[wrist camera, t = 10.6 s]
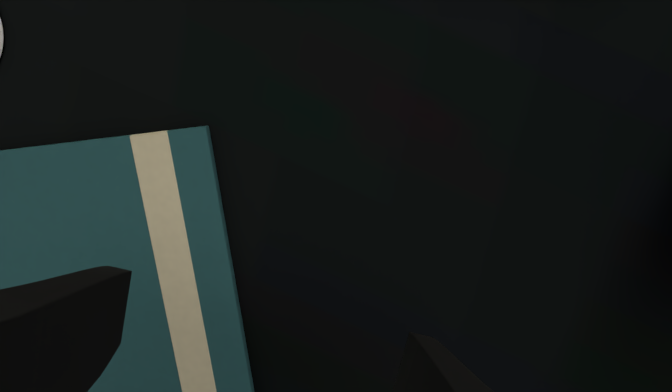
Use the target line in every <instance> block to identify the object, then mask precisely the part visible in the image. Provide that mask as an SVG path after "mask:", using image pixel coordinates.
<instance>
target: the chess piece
mask: <svg viewBox="0 0 672 392" xmlns="http://www.w3.org/2000/svg"><path fill="white" fill-rule="evenodd" d="M3 40H4V36H3V26H2V21H1V18H0V57H1V54H2V49H3Z"/></svg>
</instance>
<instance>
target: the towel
mask: <svg viewBox="0 0 672 392" xmlns="http://www.w3.org/2000/svg"><path fill="white" fill-rule="evenodd" d="M100 266H112V267H117V268H121V269H126V270H130V271H132V275H131V281H130V288H129V294H128V300H127V307H126V313H125V320H124V326H123V333H122V339H121V344H120V346H119V347H118V349H117V351H116V352H115V354H114V356H113V357H112V359H111V361H110V362H109V364H108V365H107V367H106V368H105V370H104V371H103V373H102V374H101V376H100V377H99V378H98V380H97V381H96V382H95V383H94V384H93V386H92V387H91V388H90V389H89V390H88V392H254V386H253V380H252V374H251V369H250V363H249V357H248V351H247V345H246V339H245V334H244V328H243V322H242V316H241V310H240V305H239V299H238V293H237V287H236V281H235V275H234V270H233V264H232V258H231V252H230V246H229V240H228V235H227V229H226V223H225V217H224V211H223V206H222V200H221V194H220V188H219V182H218V176H217V171H216V165H215V159H214V153H213V147H212V141H211V136H210V130H209V126H199V127H191V128H183V129H175V130H166V131H158V132H150V133H141V134H133V135H125V136H116V137H108V138H100V139H91V140H83V141H75V142H66V143H58V144H50V145H41V146H33V147H25V148H16V149H8V150H0V289H5V288H9V287H14V286H19V285H23V284H28V283H32V282H37V281H41V280H45V279H49V278H53V277H57V276H61V275H65V274H69V273H73V272H77V271H81V270H85V269H90V268H94V267H100Z"/></svg>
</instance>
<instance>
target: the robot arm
mask: <svg viewBox="0 0 672 392" xmlns="http://www.w3.org/2000/svg"><path fill="white" fill-rule="evenodd" d="M131 275H132V271H130V270H126V269H121V268H117V267H112V266H100V267H94V268H90V269H85V270H81V271H77V272H73V273H69V274H65V275H61V276H57V277H53V278H49V279H45V280H41V281H37V282H32V283H28V284H23V285H19V286H14V287H9V288H5V289H0V392H88V390H89V389H90V388H91V387H92V386H93V384H94V383H95V382H96V381H97V380H98V378H99V377H100V376H101V374H102V373H103V371H104V370H105V368H106V367H107V365H108V364H109V362H110V361H111V359H112V357H113V356H114V354H115V352H116V351H117V349H118V347H119V346H120V344H121V339H122V333H123V326H124V320H125V313H126V307H127V300H128V294H129V288H130V281H131ZM392 392H494V391H492V390H491V389H490V388H489V387H488V386H486V385H485V384H484V383H483V382H482V381H481V380H480V379H479V378H477V377H476V376H475V375H474V374H473V373H472V372H471V371H470V370H469V369H468V368H467V367H466V366H465V365H463V364H462V363H461V362H460V361H459V360H458V359H457V358H456V357H455V356H454V355H453V354H452V353H451V352H450V351H449V350H448V349H446V348H445V347H444V346H443V345H442V344H441V343H440V342H438V341H437V340H436V339H434V338H433V337H429V336H424V335H420V334H415V333H411V332H410V333H409V336H408V339H407V343H406V346H405V350H404V353H403V357H402V360H401V363H400V367H399V370H398V374H397V377H396V381H395V384H394V388H393V391H392Z"/></svg>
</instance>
